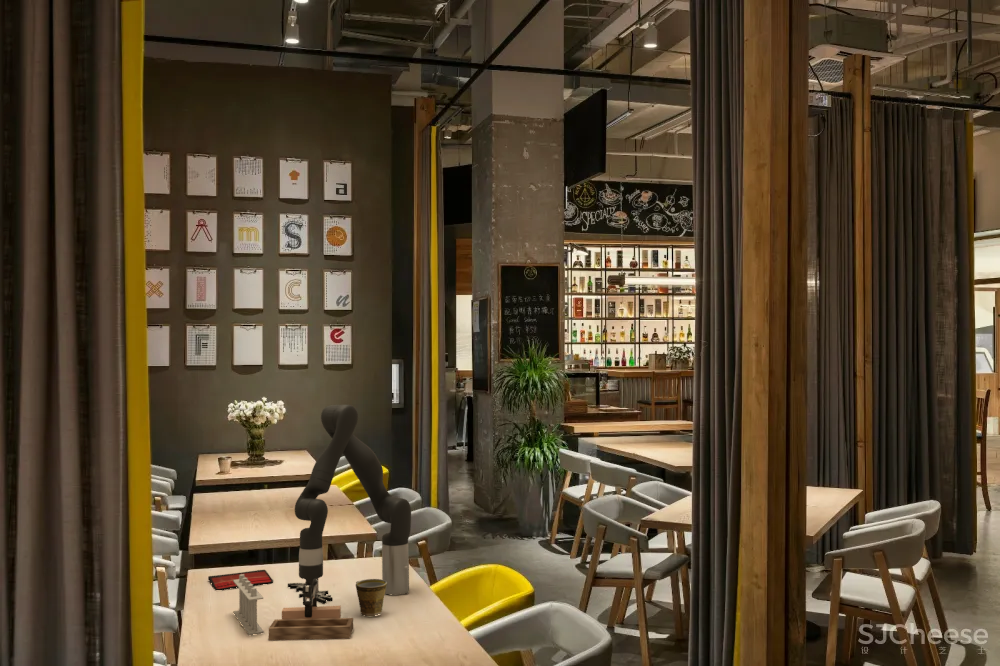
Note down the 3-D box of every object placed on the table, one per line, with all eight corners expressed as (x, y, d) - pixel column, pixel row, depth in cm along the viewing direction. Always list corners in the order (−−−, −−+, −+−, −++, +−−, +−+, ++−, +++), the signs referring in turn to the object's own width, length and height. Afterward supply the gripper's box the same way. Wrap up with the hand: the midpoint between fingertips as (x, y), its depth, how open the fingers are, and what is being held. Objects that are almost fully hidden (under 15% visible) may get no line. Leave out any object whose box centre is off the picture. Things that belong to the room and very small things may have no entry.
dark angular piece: (277, 585, 317) (302, 580, 324) (277, 590, 317) (302, 584, 324) (317, 602, 297) (343, 596, 303) (317, 606, 297) (343, 600, 303)
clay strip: (340, 619, 282) (340, 605, 282) (339, 623, 279) (339, 608, 279) (283, 622, 281) (283, 607, 281) (281, 625, 277) (281, 611, 277)
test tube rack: (264, 633, 269) (263, 590, 269) (249, 636, 267) (248, 592, 267) (246, 611, 291) (246, 571, 291) (233, 613, 289) (232, 573, 289)
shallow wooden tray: (353, 628, 273) (353, 617, 273) (349, 638, 264) (349, 627, 264) (275, 630, 272) (274, 619, 272) (268, 640, 263) (268, 628, 263)
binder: (208, 575, 328) (265, 568, 338) (208, 581, 329) (265, 574, 338) (215, 588, 314) (274, 580, 324) (215, 594, 314) (274, 586, 324)
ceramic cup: (393, 613, 288) (393, 582, 288) (369, 620, 280) (368, 589, 280) (368, 605, 296) (368, 575, 296) (344, 612, 289) (343, 581, 289)
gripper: (319, 567, 273) (319, 619, 273) (326, 556, 287) (326, 606, 287) (294, 567, 272) (294, 620, 272) (303, 556, 287) (303, 606, 287)
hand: (310, 613), depth 280 cm, fingers open, 8 cm apart
